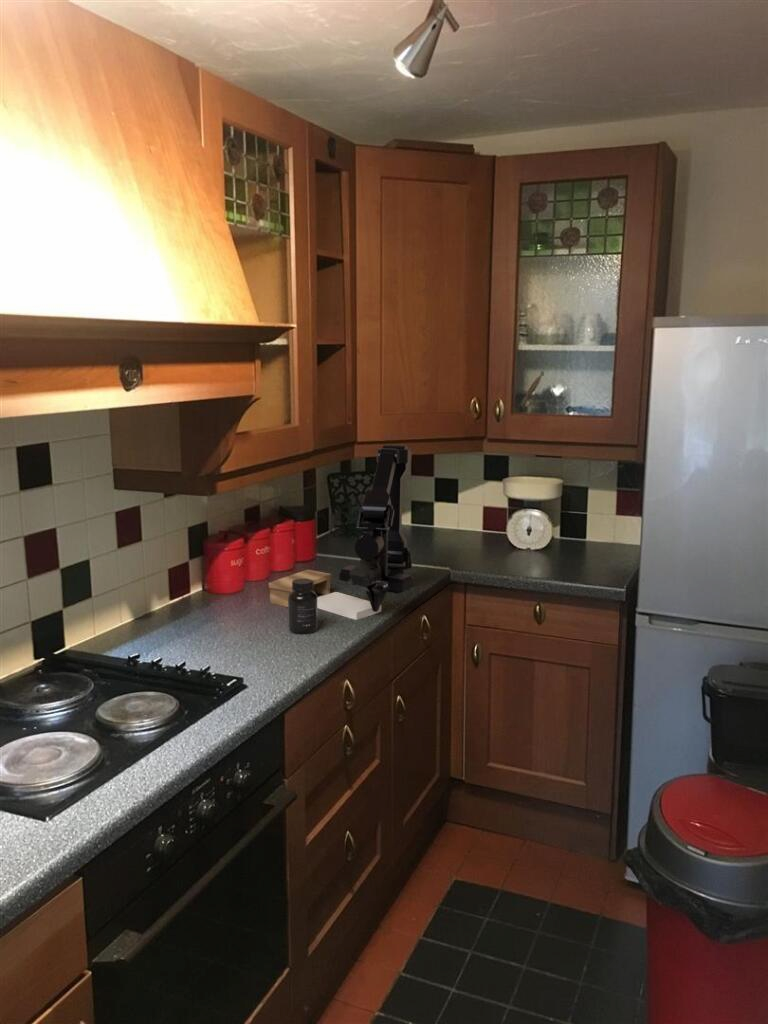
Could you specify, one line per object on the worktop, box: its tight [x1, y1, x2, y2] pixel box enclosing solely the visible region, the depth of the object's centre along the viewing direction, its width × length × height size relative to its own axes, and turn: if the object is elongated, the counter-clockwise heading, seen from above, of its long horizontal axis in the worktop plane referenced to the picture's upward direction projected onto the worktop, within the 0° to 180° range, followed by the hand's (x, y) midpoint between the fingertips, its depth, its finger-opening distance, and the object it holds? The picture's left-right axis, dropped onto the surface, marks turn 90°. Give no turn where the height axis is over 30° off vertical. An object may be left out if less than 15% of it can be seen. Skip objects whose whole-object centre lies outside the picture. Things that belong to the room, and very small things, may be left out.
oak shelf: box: [268, 569, 332, 608], centre depth 227 cm, size 16×8×6 cm, turn 147°
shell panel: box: [317, 591, 382, 621], centre depth 219 cm, size 9×16×2 cm, turn 48°
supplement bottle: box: [287, 578, 319, 635], centre depth 202 cm, size 7×7×12 cm
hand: (375, 611), depth 214 cm, fingers closed
